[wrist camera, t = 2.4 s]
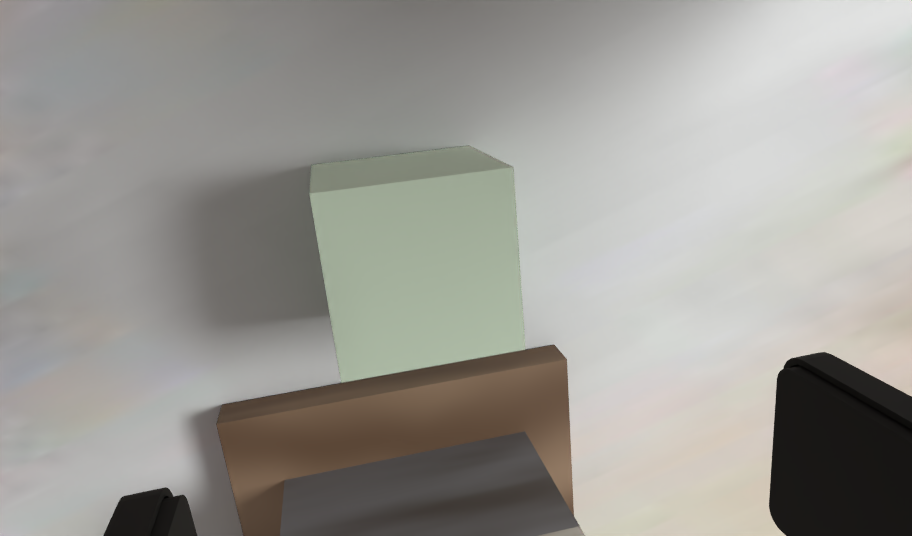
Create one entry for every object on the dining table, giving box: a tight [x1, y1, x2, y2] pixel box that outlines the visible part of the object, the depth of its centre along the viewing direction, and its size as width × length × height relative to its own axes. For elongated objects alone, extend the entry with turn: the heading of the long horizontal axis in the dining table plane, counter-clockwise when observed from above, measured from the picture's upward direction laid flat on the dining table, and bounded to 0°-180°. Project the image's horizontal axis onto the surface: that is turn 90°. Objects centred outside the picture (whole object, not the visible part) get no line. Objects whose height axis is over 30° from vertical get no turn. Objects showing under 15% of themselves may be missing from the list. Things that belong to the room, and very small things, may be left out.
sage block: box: [309, 146, 525, 383], centre depth 22 cm, size 6×6×6 cm
